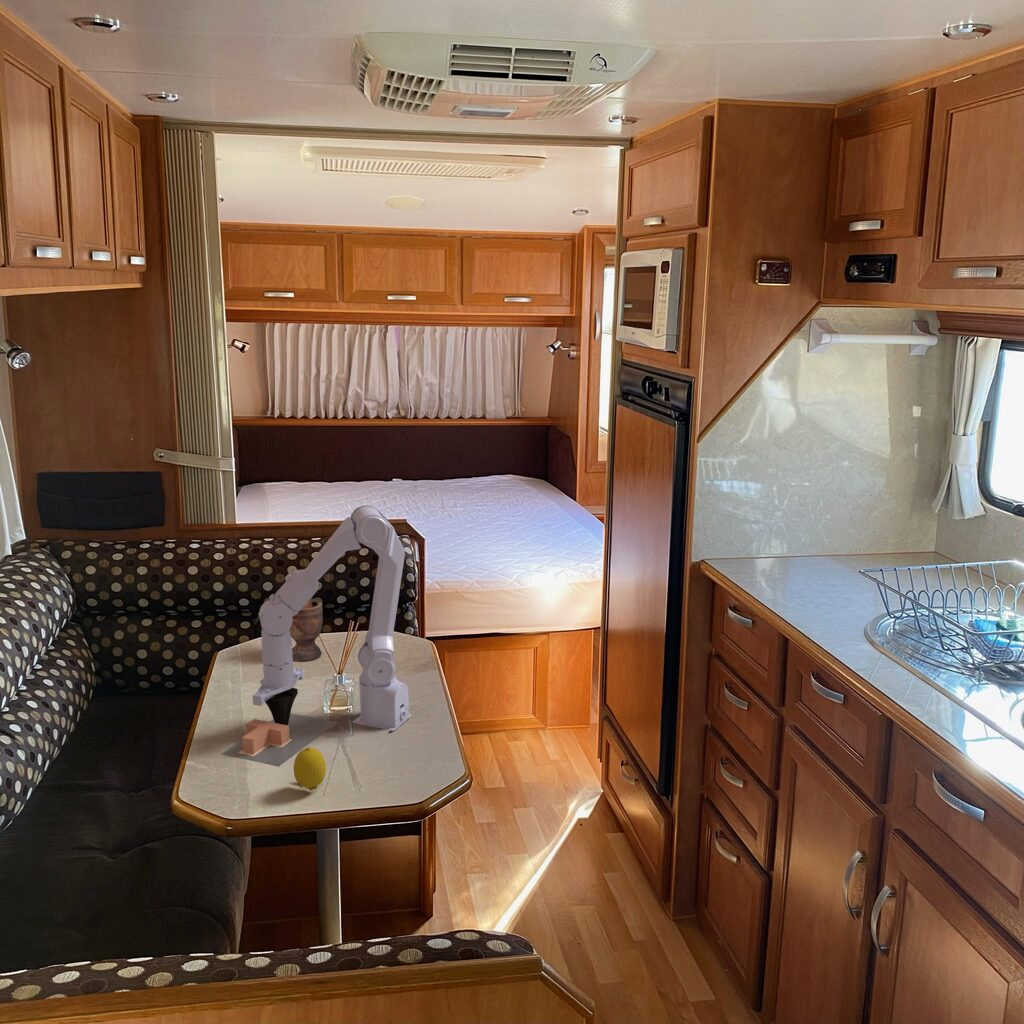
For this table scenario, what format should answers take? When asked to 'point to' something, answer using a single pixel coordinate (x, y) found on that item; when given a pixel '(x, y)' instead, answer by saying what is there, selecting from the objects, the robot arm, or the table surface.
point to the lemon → (309, 768)
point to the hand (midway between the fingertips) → (281, 725)
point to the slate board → (300, 736)
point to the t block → (264, 735)
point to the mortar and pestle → (307, 631)
